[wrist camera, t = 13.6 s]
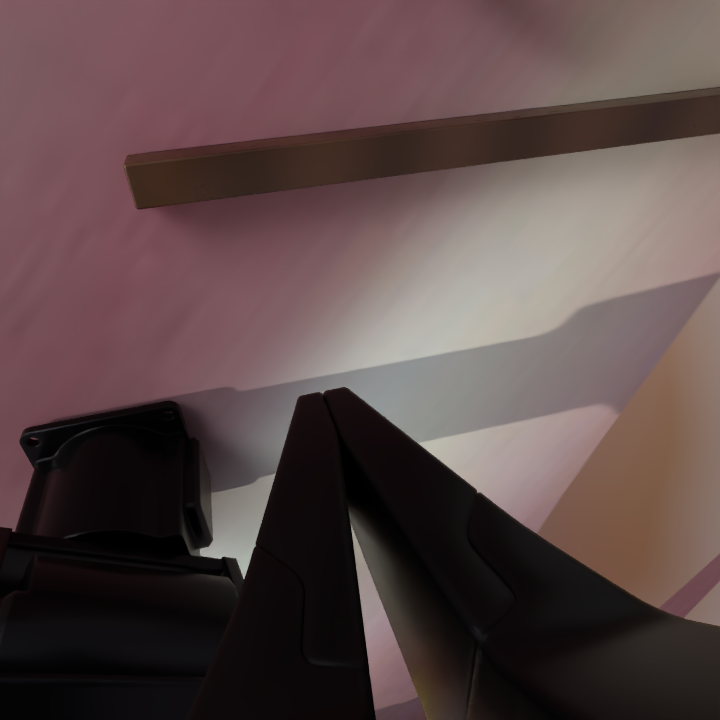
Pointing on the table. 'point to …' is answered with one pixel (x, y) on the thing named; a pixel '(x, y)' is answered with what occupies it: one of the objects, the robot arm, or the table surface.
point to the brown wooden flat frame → (414, 147)
